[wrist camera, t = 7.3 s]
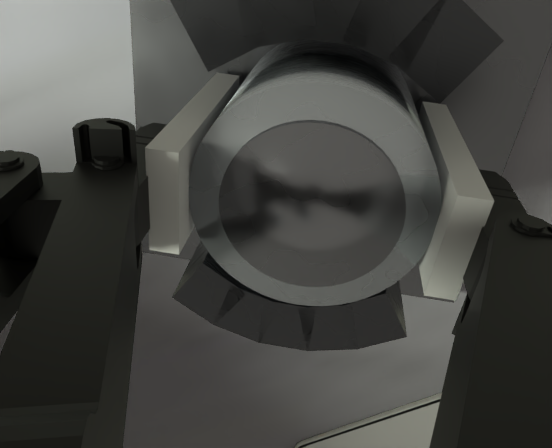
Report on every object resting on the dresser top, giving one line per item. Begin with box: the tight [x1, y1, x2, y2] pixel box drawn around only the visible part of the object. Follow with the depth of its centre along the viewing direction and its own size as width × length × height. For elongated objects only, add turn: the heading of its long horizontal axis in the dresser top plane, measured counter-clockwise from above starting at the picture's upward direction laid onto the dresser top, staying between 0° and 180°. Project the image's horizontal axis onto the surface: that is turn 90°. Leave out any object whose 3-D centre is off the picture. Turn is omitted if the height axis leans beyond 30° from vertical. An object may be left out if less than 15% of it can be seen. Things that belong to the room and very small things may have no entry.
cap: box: [189, 39, 442, 306], centre depth 14 cm, size 6×6×6 cm
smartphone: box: [295, 392, 442, 448], centre depth 26 cm, size 7×1×15 cm
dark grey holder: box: [130, 0, 552, 351], centre depth 15 cm, size 13×13×6 cm
